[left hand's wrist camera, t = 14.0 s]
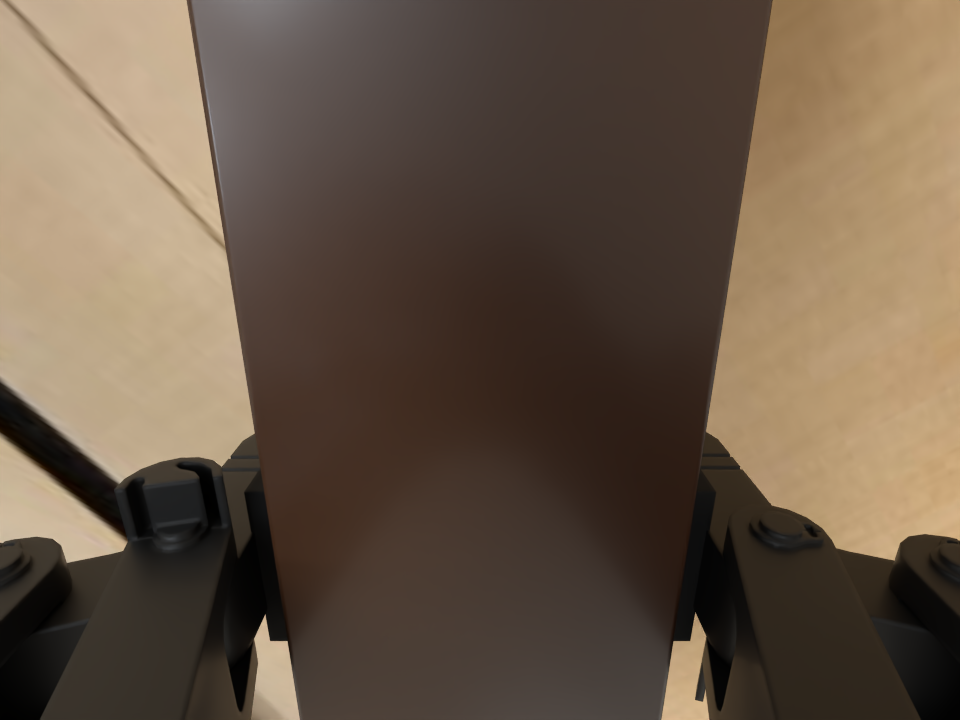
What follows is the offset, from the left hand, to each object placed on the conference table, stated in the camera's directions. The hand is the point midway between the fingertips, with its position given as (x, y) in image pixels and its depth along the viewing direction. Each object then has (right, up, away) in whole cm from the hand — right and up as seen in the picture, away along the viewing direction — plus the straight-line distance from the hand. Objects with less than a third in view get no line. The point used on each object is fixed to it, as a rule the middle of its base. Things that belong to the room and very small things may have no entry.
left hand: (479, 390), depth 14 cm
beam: (0, +9, -3) cm, 10 cm away
